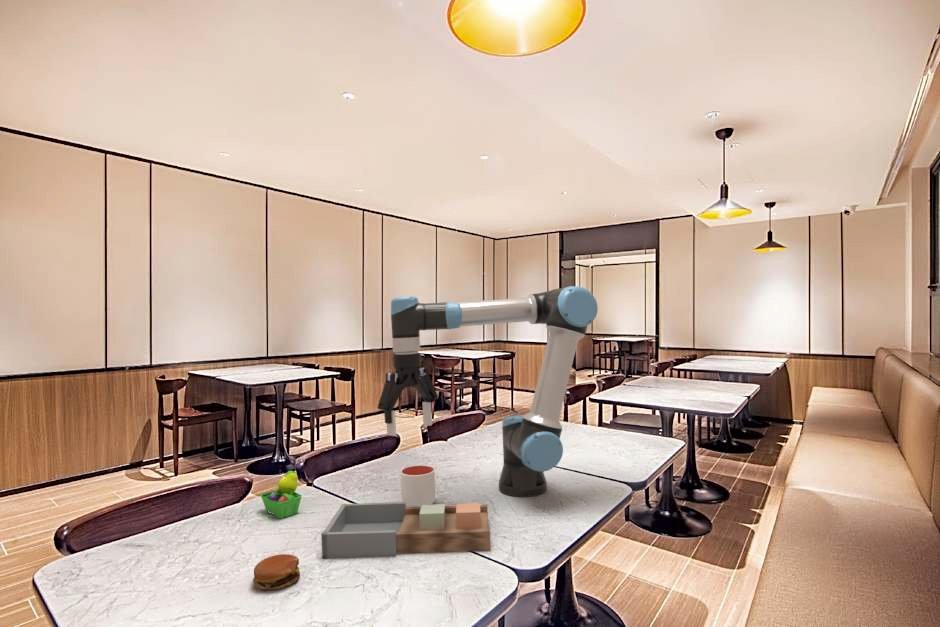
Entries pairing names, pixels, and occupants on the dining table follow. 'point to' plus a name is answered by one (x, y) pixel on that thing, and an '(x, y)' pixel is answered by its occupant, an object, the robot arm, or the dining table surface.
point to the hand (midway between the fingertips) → (410, 430)
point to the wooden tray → (442, 534)
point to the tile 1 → (432, 517)
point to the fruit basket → (283, 497)
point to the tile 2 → (468, 516)
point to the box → (363, 530)
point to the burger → (276, 572)
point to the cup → (418, 485)
